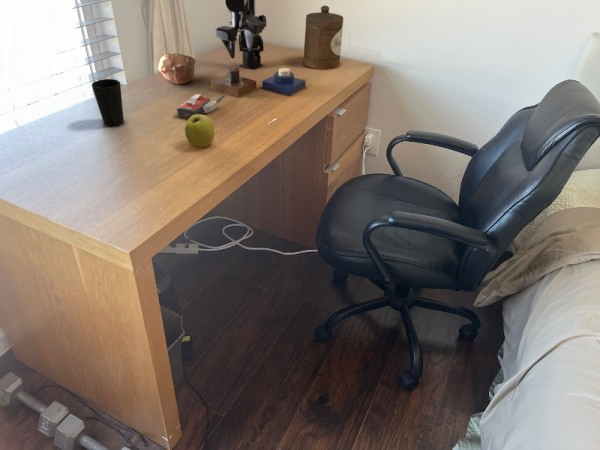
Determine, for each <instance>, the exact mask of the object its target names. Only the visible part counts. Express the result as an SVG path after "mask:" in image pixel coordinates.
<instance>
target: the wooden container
mask: <svg viewBox="0 0 600 450" xmlns="http://www.w3.org/2000/svg"><path fill="white" fill-rule="evenodd" d="M343 26H344V16H342V15H341V14H337V13H333V12H330V7H329V6H328V5H322V6H321V7H320V12H310V13H308V14H306V15H305V30H304V31H305V32H304V45H303V65H305V66H307V67H308V68H312V69H316V70H317V69H318V70H330V69H335V68H337V67H339V66H340V62H341V53H342V41H343V40H342V39H343Z"/></svg>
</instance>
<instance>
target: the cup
mask: <svg viewBox="0 0 600 450" xmlns="http://www.w3.org/2000/svg"><path fill="white" fill-rule="evenodd" d="M91 88H92V91H93V94H94V97H95V100H96V104H97V106H98V109H99V113H100V115H101V119H102V121H103V124H104V126H105V127H108V128H116V127H120V126H122V125H124V123H125V121H124V119H125V118H124V110H123V109H124V107H123V99H122V98H123V97H122V88H121V82H120V81H119V80H117V79H114V78H104V79H98V80H96V81H93V82H92V83H91Z"/></svg>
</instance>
